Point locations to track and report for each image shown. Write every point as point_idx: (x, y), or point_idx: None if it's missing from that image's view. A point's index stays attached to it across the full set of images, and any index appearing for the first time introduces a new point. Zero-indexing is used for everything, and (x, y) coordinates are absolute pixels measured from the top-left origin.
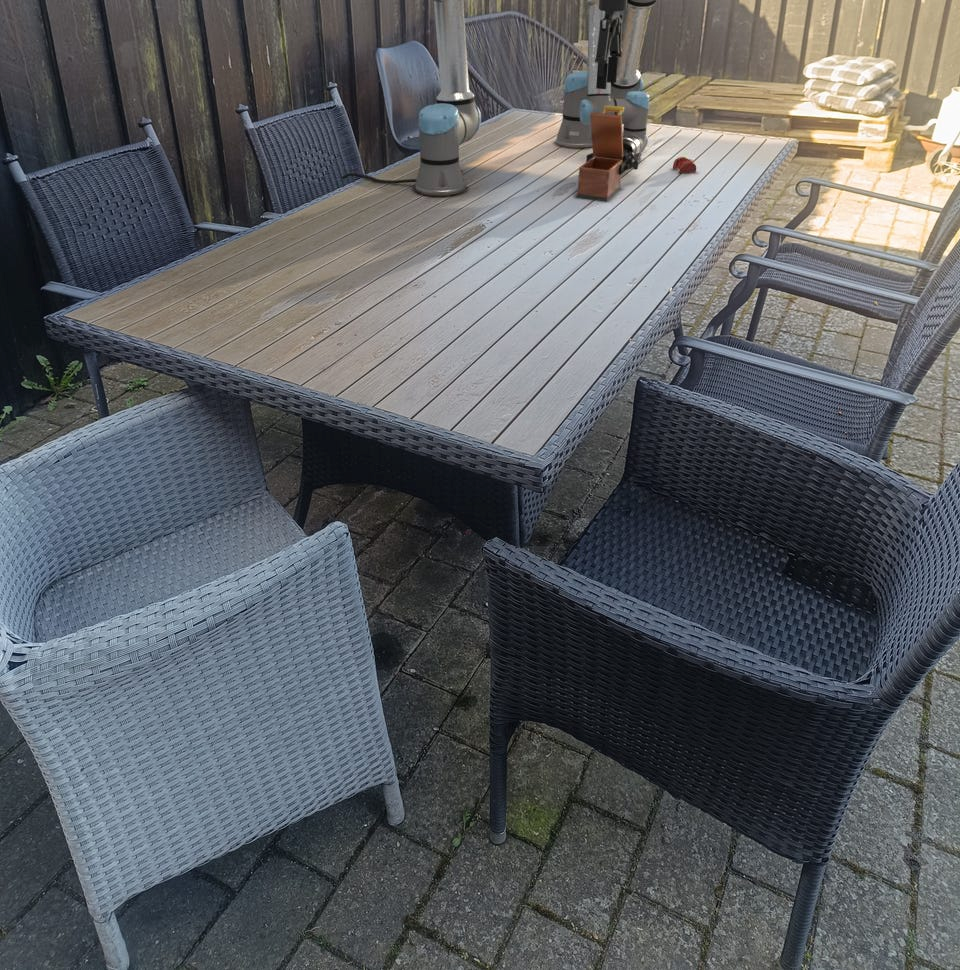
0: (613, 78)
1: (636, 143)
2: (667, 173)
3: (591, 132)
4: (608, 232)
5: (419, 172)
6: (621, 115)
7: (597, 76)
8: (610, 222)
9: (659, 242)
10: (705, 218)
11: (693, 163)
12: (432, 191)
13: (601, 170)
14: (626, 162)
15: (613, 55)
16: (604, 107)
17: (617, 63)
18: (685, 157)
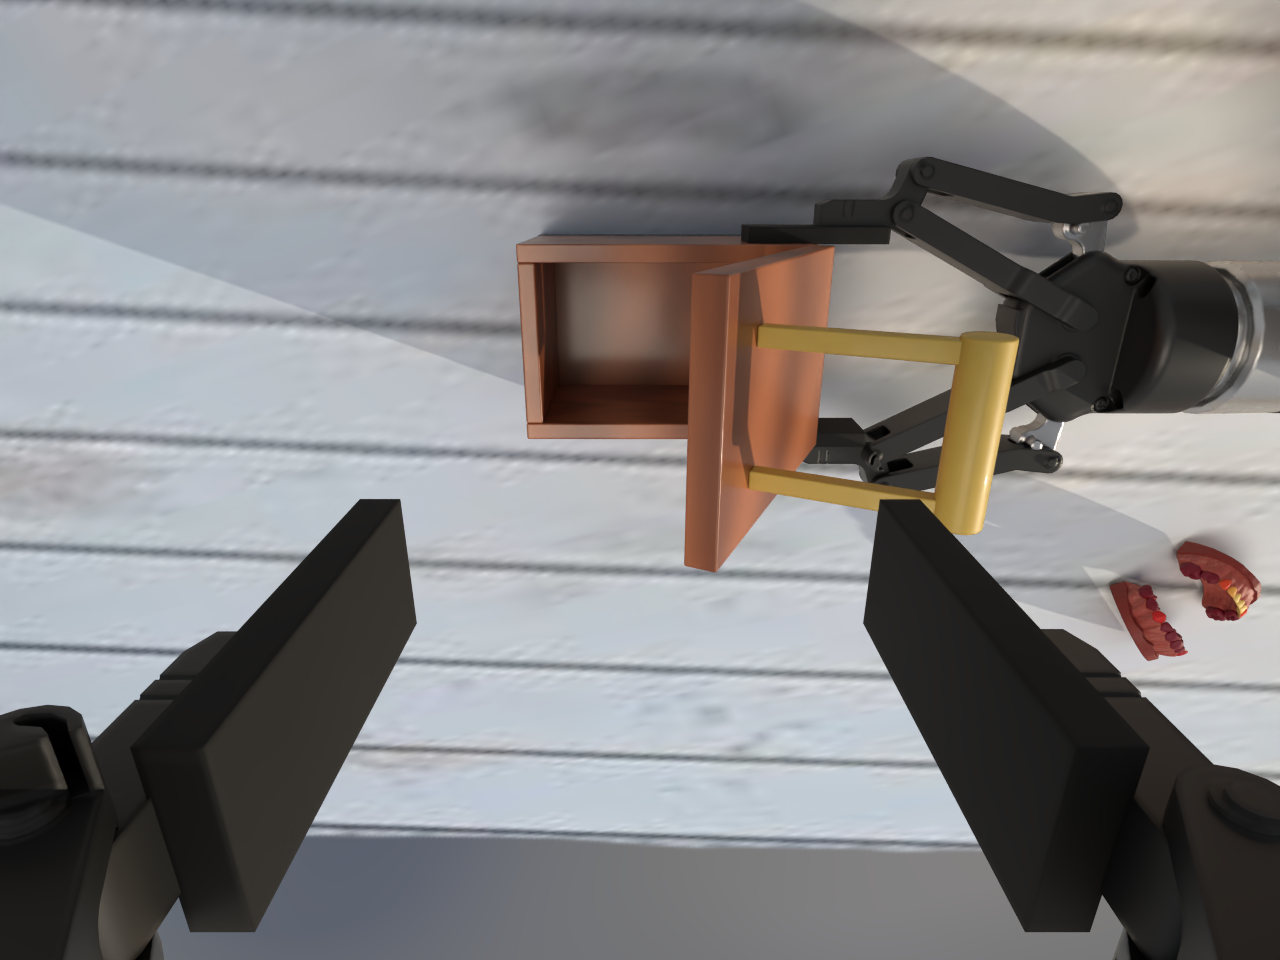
0: (887, 622)
1: (1230, 409)
2: (1109, 531)
3: (755, 258)
4: (159, 519)
5: None
6: (712, 570)
7: (288, 586)
8: (278, 492)
9: None
10: (520, 776)
11: (1146, 658)
12: None
13: (525, 391)
14: (834, 445)
15: (1142, 865)
16: (967, 346)
17: (984, 827)
18: (1239, 613)
